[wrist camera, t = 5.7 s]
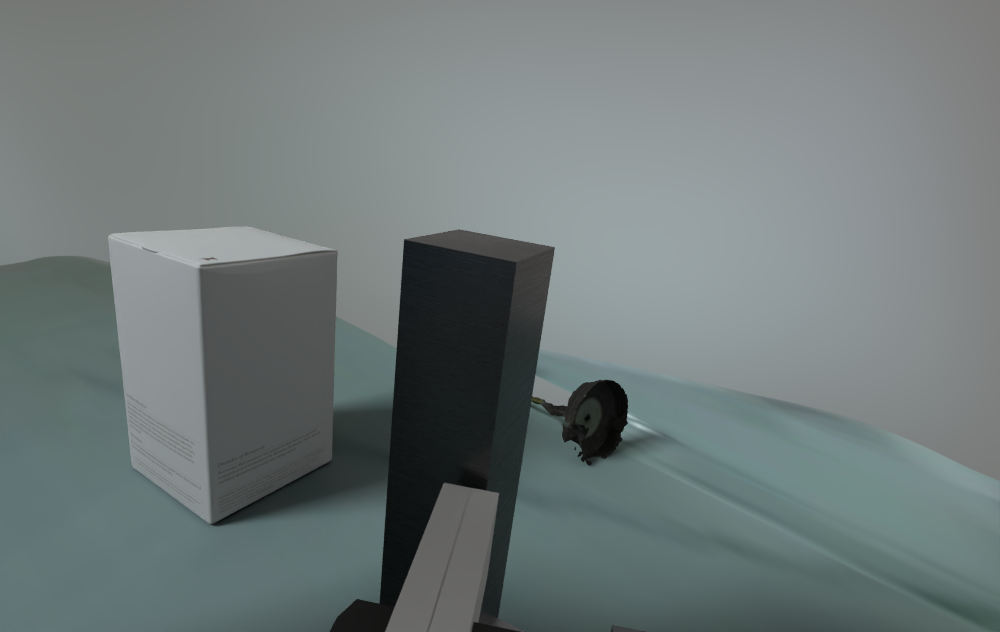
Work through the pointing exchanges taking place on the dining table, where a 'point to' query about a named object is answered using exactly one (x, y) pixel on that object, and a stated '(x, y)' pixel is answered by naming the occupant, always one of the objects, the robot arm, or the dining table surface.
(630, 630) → the flange plate
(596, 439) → the artificial flower
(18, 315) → the dining table surface
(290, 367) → the supplement box
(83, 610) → the dining table surface
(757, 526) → the dining table surface
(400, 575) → the round grey fixture
